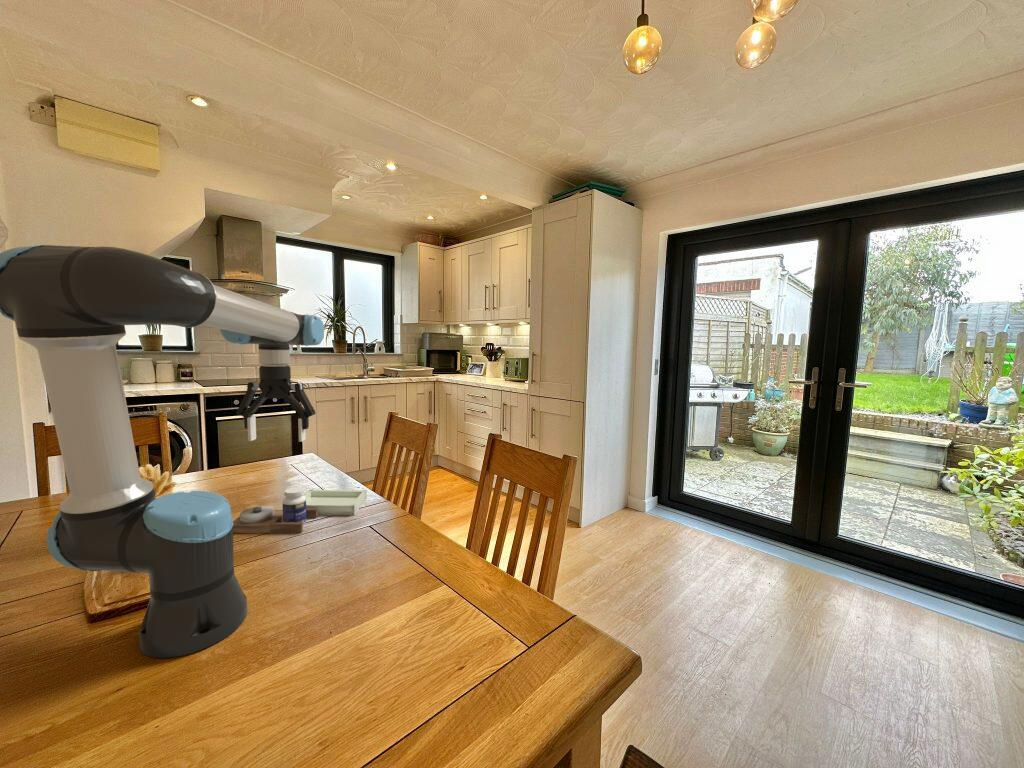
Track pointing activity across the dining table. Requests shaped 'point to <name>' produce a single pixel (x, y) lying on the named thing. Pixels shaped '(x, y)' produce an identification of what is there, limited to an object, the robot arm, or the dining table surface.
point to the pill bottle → (294, 505)
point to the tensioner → (268, 521)
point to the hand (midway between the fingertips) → (277, 440)
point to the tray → (335, 501)
